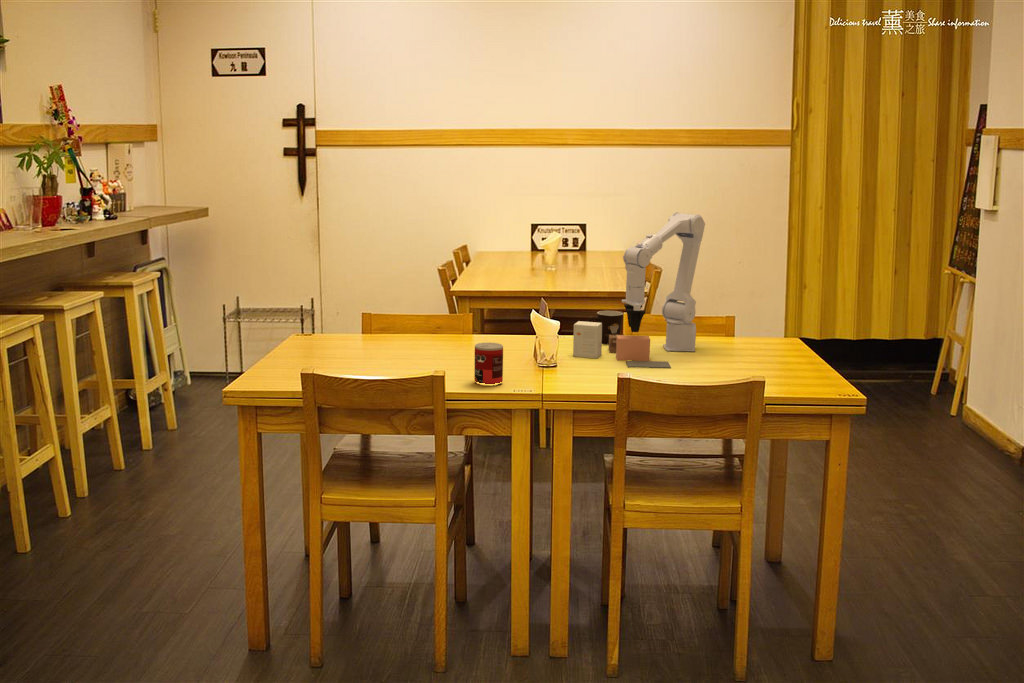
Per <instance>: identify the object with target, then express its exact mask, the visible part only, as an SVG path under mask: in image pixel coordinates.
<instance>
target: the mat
mask: <svg viewBox="0 0 1024 683" xmlns="http://www.w3.org/2000/svg"><path fill="white" fill-rule="evenodd" d="M626 363H627V364H626ZM625 364H626V366H627V368H629V367H649V368H648V369H672V366H671V365H670V362H669V361H665V360H664V361H661V360H660V361H658V360H649V361H625Z"/></svg>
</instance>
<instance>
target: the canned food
mask: <svg viewBox="0 0 1024 683" xmlns="http://www.w3.org/2000/svg"><path fill="white" fill-rule="evenodd" d="M503 374H504V345H503V344H501V343H498V342H479V343H475V345H474V382H475V381H476V382H479V383H485V384H495V383H500V382H502V383H503V380H504V379H503V378H504V377H503Z"/></svg>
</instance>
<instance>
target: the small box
mask: <svg viewBox="0 0 1024 683" xmlns="http://www.w3.org/2000/svg"><path fill="white" fill-rule="evenodd" d="M572 341H573V342H572V343H573V345H572V346H573V348H572V351H573V352H572V355H573V357H574V358H575V357H577V358H585V359H587V358H588V359H598V358H600V356H602V351H603V350H602V345H603V344H602V323H598V322H597V321H596V322H595V321H594V322H593V321H590V322H588V321H580V320H578V321H577V322H575V323H574V324H573V340H572Z"/></svg>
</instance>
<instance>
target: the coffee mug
mask: <svg viewBox="0 0 1024 683" xmlns="http://www.w3.org/2000/svg"><path fill="white" fill-rule="evenodd" d="M596 314H597V315H596V316H597V317H591V318H589V319H588V320H587V322H592V320H593V321H594V320H595V321H596V322H597V323H602V345H608V346H609V335H621V329H622V324H623V323H622V322H623V317H624V313H623V312H622V311H616V310H600V311H597V312H596Z"/></svg>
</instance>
